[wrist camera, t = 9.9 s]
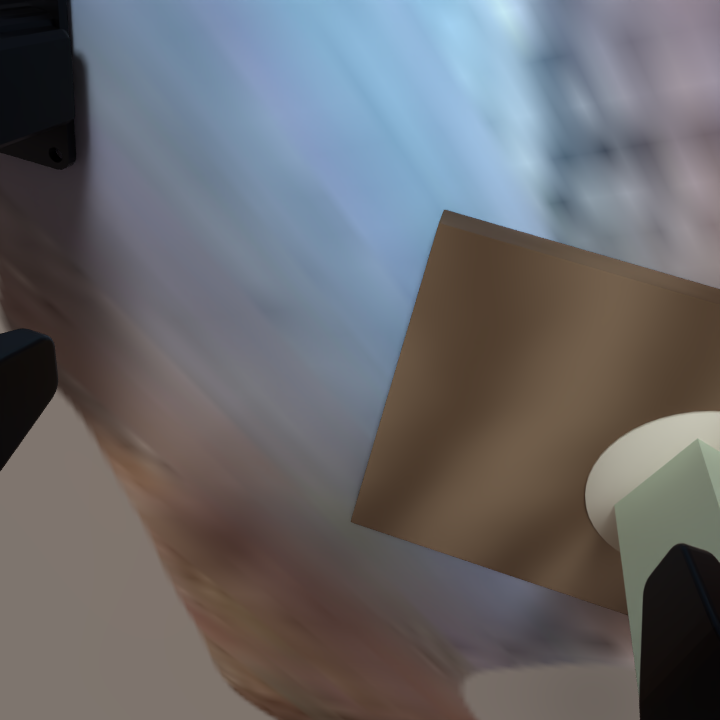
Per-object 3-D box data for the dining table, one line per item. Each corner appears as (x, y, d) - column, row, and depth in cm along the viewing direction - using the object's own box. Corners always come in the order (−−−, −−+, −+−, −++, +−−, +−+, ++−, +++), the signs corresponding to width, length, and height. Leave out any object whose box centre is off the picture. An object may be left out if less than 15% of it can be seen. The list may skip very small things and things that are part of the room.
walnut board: (357, 502, 28) (338, 558, 25) (443, 209, 20) (429, 248, 17) (715, 621, 27) (734, 693, 24) (963, 360, 19) (1032, 426, 16)
